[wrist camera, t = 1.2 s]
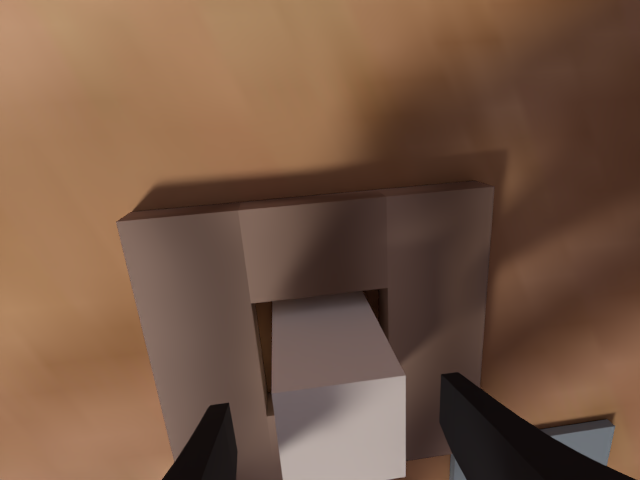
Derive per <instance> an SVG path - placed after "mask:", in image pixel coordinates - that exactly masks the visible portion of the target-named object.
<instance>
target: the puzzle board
mask: <svg viewBox="0 0 640 480" xmlns="http://www.w3.org/2000/svg"><path fill="white" fill-rule="evenodd" d="M493 201H494V186H491V185H488V184H484V183H481V182H478V181H466V182H455V183H444V184H433V185H422V186H411V187H400V188H389V189H378V190H367V191H356V192H345V193H334V194H323V195H312V196H301V197H290V198H279V199H268V200H257V201H246V202H235V203H224V204H213V205H202V206H191V207H180V208H169V209H158V210H147V211H136V212H130V213H129V214H127V215H126V216H124V217H123V218H121V219H120V220H118V221H117V222H116V223H117V228H118V232H119V236H120V240H121V244H122V248H123V252H124V256H125V260H126V265H127V269H128V273H129V277H130V281H131V285H132V289H133V293H134V298H135V302H136V306H137V310H138V314H139V318H140V322H141V326H142V330H143V335H144V339H145V343H146V347H147V351H148V355H149V359H150V363H151V367H152V372H153V376H154V380H155V384H156V388H157V392H158V396H159V400H160V404H161V409H162V413H163V417H164V421H165V425H166V429H167V433H168V437H169V441H170V446H171V450H172V454H173V458H174V462H175V461H176V459H177V458H178V456H179V455H180V453H181V451H182V450H183V448H184V447H185V445H186V444H187V442H188V441H189V439H190V437H191V436H192V434H193V432H194V431H195V429H196V427H197V426H198V424H199V422H200V421H201V419H202V417H203V415H204V414H205V412H206V410H207V408H208V407H209V406H210V405H215V404H222V403H229V405H230V411H231V416H232V422H233V428H234V433H235V439H236V445H237V451H238V453H237V473H236V480H283V477H282V470H281V462H280V454H279V447H278V439H277V432H276V424H275V416H274V409H273V401H272V393H267V387H266V380H265V372H264V365H263V358H262V350H261V343H260V335H259V328H258V321H257V313H256V306H255V303H260V302H268V301H277V300H286V299H295V298H303V297H312V296H321V295H330V294H338V293H347V292H356V291H365V290H374V289H379V324H380V327H381V328H382V330H383V332H384V334H385V336H386V338H387V340H388V342H389V344H390V346H391V348H392V350H393V352H394V354H395V356H396V358H397V360H398V362H399V363H400V365H401V367H402V369H403V371H404V373H405V375H406V461H409V460H416V459H422V458H429V457H435V456H441V455H448V454H452V452H451V450H450V447H449V445H448V443H447V440H446V438H445V435H444V433H443V430H442V428H441V425H440V423H439V413H440V386H441V374H447V373H454V372H459V373H460V374H462V375H463V376H464V377H466V378H467V379H468V380H470V381H471V382H472V383H474V384H475V385H476V386H478V387H479V388H480V379H481V365H482V352H483V338H484V324H485V310H486V297H487V283H488V269H489V255H490V242H491V228H492V214H493Z"/></svg>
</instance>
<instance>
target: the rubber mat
mask: <svg viewBox="0 0 640 480" xmlns="http://www.w3.org/2000/svg"><path fill="white" fill-rule="evenodd" d="M614 429H615V426H614V425H613V424H612V423H611V422H610V421H609V420H608V419H606V420H599V421H593V422H586V423H580V424H573V425H567V426H560V427H554V428H547V429H540V430H541V431H543V432H544V433H546V434H547V435H549V436H551V437H552V438H554V439H556V440H558V441H559V442H561V443H563V444H565V445H567V446H568V447H570V448H572V449H574V450H576V451H577V452H579V453H581V454H583V455H585V456H587V457H589V458H591V459H593V460H595V461H597V462H599V463H601V464H603V465H605V466H607V462H608V457H609V452H610V448H611V443H612V438H613V434H614ZM450 480H466V478H465V476H464V474H463V472H462V470H461V469H460V467H459V465H458V463H457V461H456V459H455V458H454V456H453V454H451V459H450Z"/></svg>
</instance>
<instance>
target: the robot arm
mask: <svg viewBox="0 0 640 480" xmlns="http://www.w3.org/2000/svg"><path fill="white" fill-rule="evenodd" d="M439 423H440V425H441V428H442V430H443V433H444V435H445V438H446V440H447V443H448V445H449V447H450V450H451V452H452V454H453V456H454V458H455V459H456V461H457V463H458V465H459V467H460V469H461V470H462V472H463V474H464V476H465V478H466V480H636V479H633V478H631V477H629V476H627V475H624V474H622V473H620V472H618V471H616V470H614V469H611V468H609V467H607V466H605V465H603V464H601V463H599V462H597V461H595V460H593V459H591V458H589V457H587V456H585V455H583V454H581V453H579V452H577V451H576V450H574V449H572V448H570V447H568V446H567V445H565V444H563V443H561V442H559V441H558V440H556V439H554V438H552V437H551V436H549V435H547V434H546V433H544V432H543V431H541V430H539V429H538V428H536V427H535V426H533V425H532V424H530V423H528V422H527V421H525V420H524V419H522V418H521V417H519V416H518V415H516V414H515V413H514V412H512V411H511V410H509V409H508V408H506V407H505V406H504V405H502V404H501V403H499V402H498V401H497V400H495V399H494V398H493V397H491V396H490V395H488V394H487V393H486V392H484V391H483V390H482V389H480V388H479V387H478V386H476V385H475V384H474V383H472V382H471V381H470V380H468V379H467V378H466V377H464V376H463V375H462V374H460V373H459V372H454V373H447V374H441V386H440V413H439ZM237 453H238V451H237V445H236V439H235V433H234V428H233V422H232V416H231V411H230V405H229V403H222V404H215V405H210V406H209V407H208V408H207V410H206V412H205V414H204V415H203V417H202V419H201V421H200V422H199V424H198V426H197V427H196V429H195V431H194V432H193V434H192V436H191V437H190V439H189V441H188V442H187V444H186V445H185V447H184V448H183V450H182V451H181V453H180V455H179V456H178V458H177V459H176V461H175V462H174V464H173V465H172V466H171V468H170V469H169V471H168V472H167V473H166V475H165V476H164V478H163V479H162V480H236V473H237Z"/></svg>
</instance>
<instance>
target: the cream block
mask: <svg viewBox="0 0 640 480" xmlns="http://www.w3.org/2000/svg"><path fill="white" fill-rule="evenodd" d="M272 401H273V409H274V416H275V424H276V432H277V439H278V447H279V454H280V462H281V470H282V477H283V480H389V479H395V478H401V477H406V375H405V373H404V371H403V369H402V367H401V365H400V363H399V362H398V360H397V358H396V356H395V354H394V352H393V350H392V348H391V346H390V344H389V342H388V340H387V338H386V336H385V334H384V332H383V330H382V328H381V327H380V325H379V323H378V321H377V319H376V317H375V315H374V313H373V311H372V309H371V307H370V305H369V303H368V301H367V299H366V297H365V295H364V293H363V291H356V292H347V293H338V294H330V295H321V296H312V297H303V298H295V299H286V300H277V301H272Z"/></svg>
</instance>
